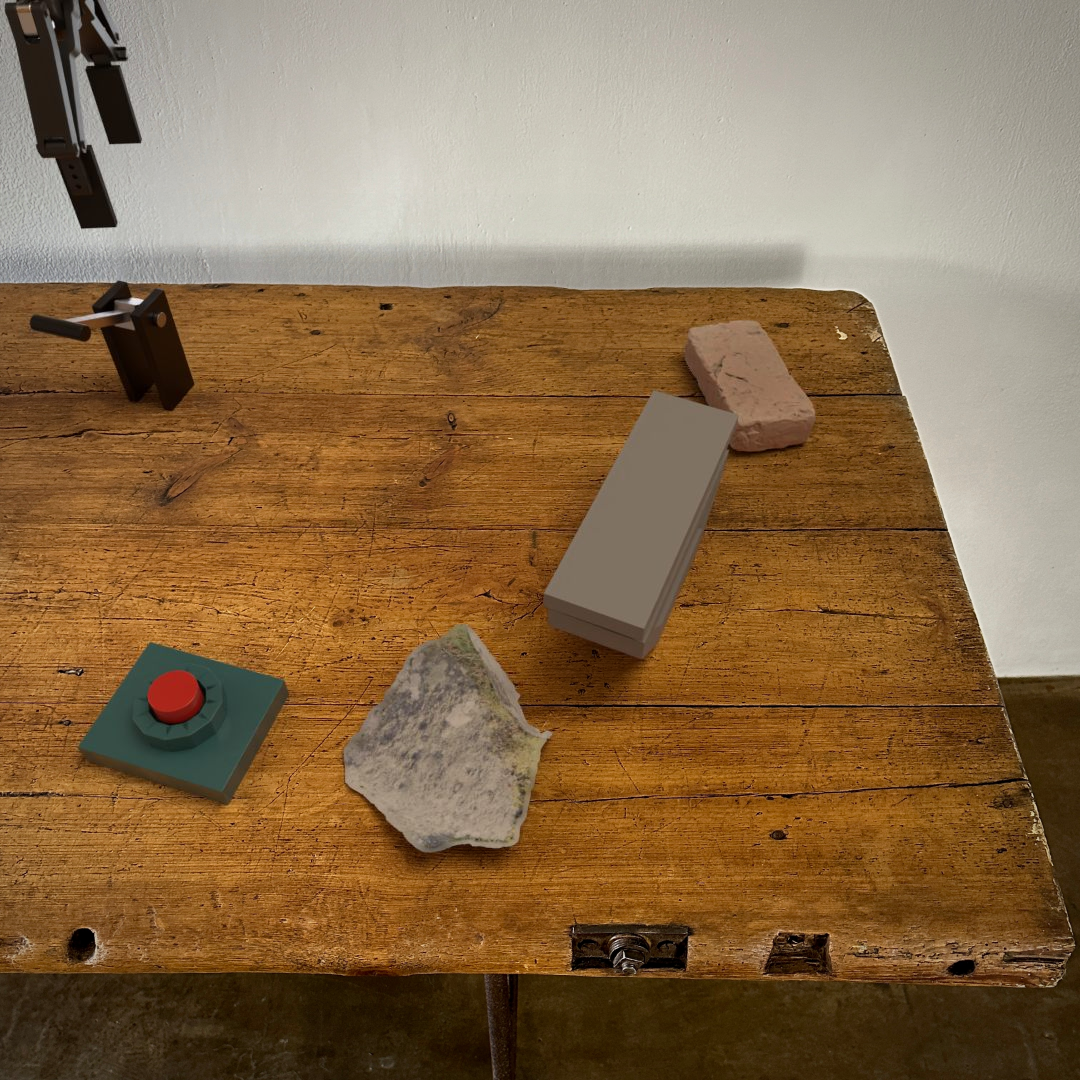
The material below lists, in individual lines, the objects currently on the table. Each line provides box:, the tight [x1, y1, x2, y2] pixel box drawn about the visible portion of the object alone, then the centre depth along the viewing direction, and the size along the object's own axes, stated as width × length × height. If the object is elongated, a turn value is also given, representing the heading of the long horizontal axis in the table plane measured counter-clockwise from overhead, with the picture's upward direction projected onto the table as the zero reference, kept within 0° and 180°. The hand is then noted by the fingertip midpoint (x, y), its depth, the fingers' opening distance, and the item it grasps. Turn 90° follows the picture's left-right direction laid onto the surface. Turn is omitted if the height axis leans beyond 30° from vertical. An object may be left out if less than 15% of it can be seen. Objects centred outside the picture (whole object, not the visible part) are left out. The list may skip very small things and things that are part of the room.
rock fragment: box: [343, 623, 553, 853], centre depth 72 cm, size 15×16×5 cm
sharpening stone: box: [542, 390, 739, 660], centre depth 82 cm, size 25×8×11 cm, turn 157°
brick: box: [683, 319, 816, 452], centre depth 101 cm, size 17×8×5 cm, turn 13°
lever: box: [29, 297, 144, 343], centre depth 88 cm, size 12×5×2 cm, turn 163°
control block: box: [77, 641, 290, 806], centre depth 74 cm, size 12×10×4 cm
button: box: [148, 671, 203, 724], centre depth 73 cm, size 4×4×2 cm
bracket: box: [91, 279, 195, 412], centre depth 96 cm, size 12×9×13 cm
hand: (113, 182), depth 82 cm, fingers open, 13 cm apart
